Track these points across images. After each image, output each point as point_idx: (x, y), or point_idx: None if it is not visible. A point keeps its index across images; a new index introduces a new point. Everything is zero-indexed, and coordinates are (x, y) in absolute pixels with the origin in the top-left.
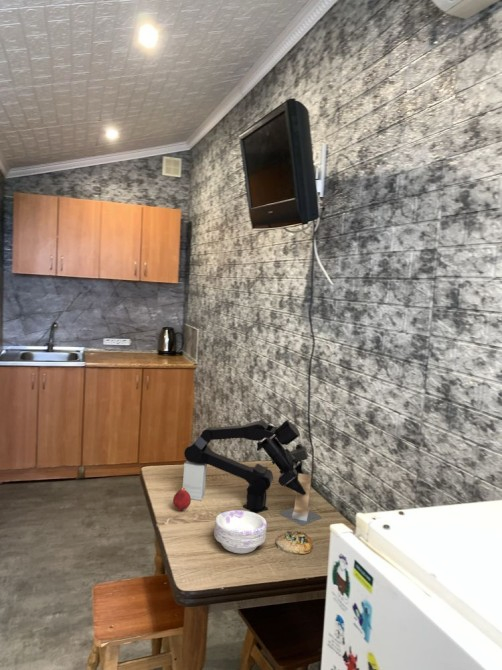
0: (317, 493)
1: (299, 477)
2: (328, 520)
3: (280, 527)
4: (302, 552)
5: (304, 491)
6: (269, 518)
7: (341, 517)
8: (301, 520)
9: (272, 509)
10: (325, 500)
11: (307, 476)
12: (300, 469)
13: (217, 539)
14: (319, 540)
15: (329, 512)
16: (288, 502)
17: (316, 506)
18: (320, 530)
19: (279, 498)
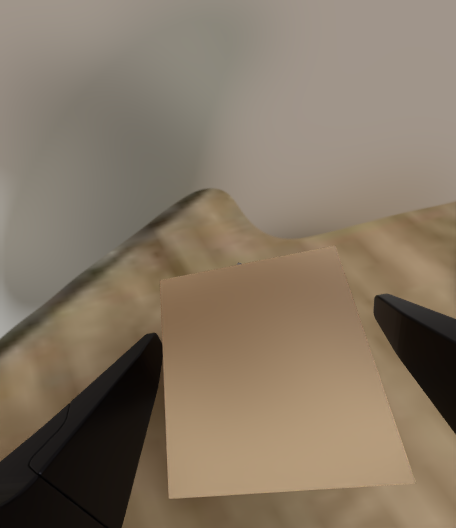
0: (33, 334)
1: (367, 438)
2: (241, 239)
3: None
4: None
5: (409, 302)
6: (391, 492)
7: (195, 212)
8: None
9: (275, 504)
10: (85, 291)
11: (230, 318)
12: (21, 510)
13: None
14: (424, 222)
15: (176, 253)
16: (157, 434)
17: (147, 307)
18: (340, 241)
19: (132, 496)
